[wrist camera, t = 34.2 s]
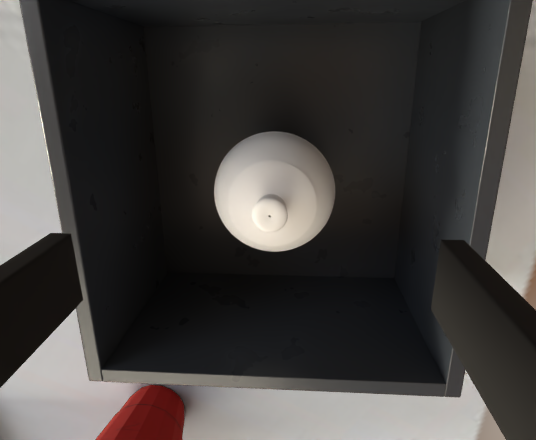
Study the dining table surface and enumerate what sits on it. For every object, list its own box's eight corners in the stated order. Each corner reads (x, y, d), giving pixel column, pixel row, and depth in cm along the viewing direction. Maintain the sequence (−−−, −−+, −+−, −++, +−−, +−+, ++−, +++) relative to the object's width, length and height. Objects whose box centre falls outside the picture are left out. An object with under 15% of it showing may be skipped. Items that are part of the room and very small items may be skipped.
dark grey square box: (401, 282, 36) (460, 397, 23) (161, 276, 38) (88, 381, 25) (431, 9, 29) (542, -49, 16) (134, 15, 31) (11, -34, 17)
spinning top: (230, 210, 34) (197, 275, 23) (233, 117, 32) (197, 138, 20) (322, 217, 34) (334, 287, 22) (332, 123, 31) (351, 148, 20)
